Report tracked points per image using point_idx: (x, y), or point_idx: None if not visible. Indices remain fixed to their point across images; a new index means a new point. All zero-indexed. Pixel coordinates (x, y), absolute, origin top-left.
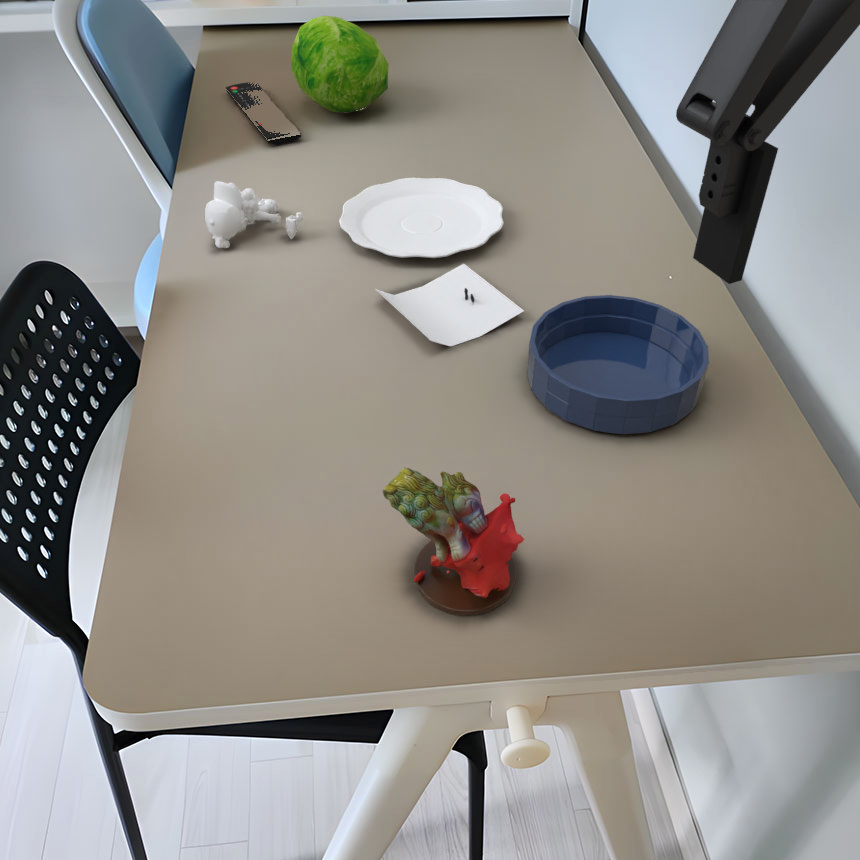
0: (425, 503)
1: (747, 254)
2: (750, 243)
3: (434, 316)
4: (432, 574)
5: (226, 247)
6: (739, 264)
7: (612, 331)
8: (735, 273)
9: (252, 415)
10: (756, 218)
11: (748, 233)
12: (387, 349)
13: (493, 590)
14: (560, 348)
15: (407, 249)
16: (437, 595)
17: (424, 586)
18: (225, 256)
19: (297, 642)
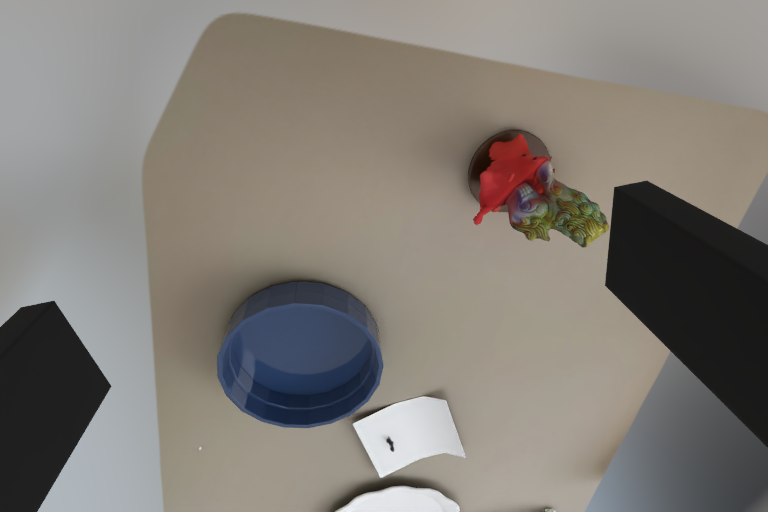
0: (583, 206)
1: (656, 211)
2: (677, 223)
3: (422, 427)
4: None
5: (547, 509)
6: (658, 200)
7: (283, 393)
8: (653, 189)
9: (593, 350)
10: (737, 254)
11: (718, 233)
12: (472, 399)
13: None
14: (336, 381)
15: (416, 497)
16: (541, 153)
17: None
18: (550, 500)
19: (648, 139)
